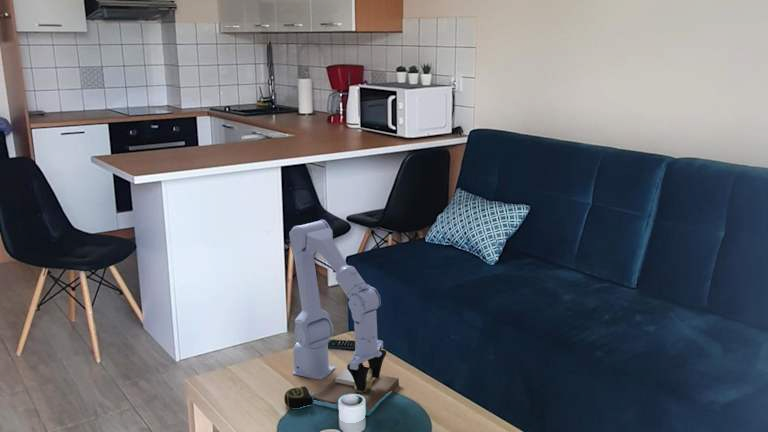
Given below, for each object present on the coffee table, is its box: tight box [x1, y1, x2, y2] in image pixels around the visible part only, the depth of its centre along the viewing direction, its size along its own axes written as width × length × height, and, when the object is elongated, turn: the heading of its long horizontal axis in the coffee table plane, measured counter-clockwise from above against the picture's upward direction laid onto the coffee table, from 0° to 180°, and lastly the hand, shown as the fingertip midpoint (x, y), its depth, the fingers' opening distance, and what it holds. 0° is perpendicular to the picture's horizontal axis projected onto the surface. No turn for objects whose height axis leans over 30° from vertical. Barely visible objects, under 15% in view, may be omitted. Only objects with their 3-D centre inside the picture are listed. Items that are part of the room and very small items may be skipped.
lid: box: [334, 365, 376, 386], centre depth 190 cm, size 9×8×2 cm
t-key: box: [354, 368, 373, 392], centre depth 182 cm, size 5×7×5 cm, turn 177°
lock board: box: [312, 374, 400, 412], centre depth 186 cm, size 16×18×2 cm
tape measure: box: [283, 385, 314, 410], centre depth 181 cm, size 7×7×4 cm
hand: (368, 383), depth 182 cm, fingers open, 7 cm apart
